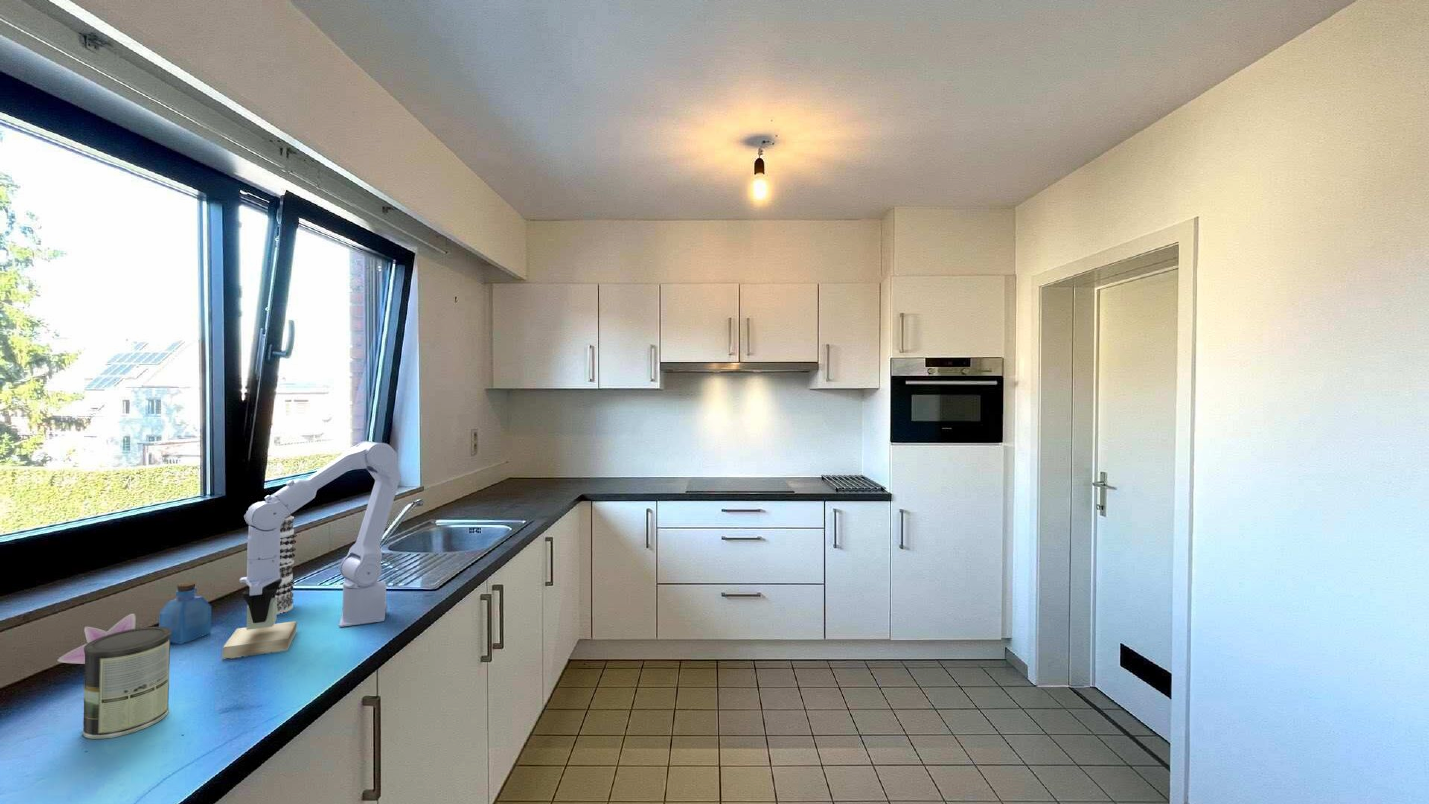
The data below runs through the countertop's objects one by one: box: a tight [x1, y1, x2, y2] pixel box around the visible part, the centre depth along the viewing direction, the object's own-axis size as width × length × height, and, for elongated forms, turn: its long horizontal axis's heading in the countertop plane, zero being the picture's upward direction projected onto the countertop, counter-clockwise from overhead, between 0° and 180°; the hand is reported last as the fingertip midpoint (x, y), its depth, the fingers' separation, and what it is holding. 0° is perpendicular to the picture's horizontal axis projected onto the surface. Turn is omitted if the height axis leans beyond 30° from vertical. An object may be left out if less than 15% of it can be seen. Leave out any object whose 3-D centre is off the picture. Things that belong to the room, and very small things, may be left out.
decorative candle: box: [275, 514, 298, 615], centre depth 148 cm, size 9×9×25 cm
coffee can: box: [82, 626, 171, 740], centre depth 97 cm, size 10×10×14 cm
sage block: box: [246, 598, 278, 630], centre depth 128 cm, size 4×4×5 cm
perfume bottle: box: [158, 581, 212, 645], centre depth 131 cm, size 6×6×12 cm
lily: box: [57, 613, 137, 665], centre depth 114 cm, size 12×12×10 cm
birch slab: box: [222, 620, 298, 660], centre depth 128 cm, size 11×11×3 cm
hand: (262, 618), depth 128 cm, fingers closed on sage block, 4 cm apart
